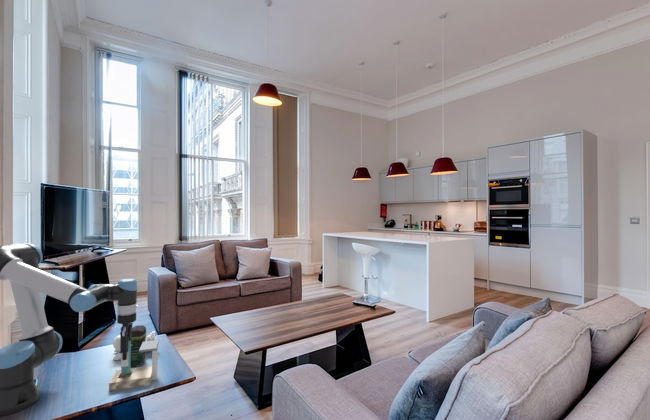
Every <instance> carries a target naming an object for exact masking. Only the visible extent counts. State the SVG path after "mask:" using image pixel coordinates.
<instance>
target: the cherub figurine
mask: <svg viewBox="0 0 650 420" xmlns="http://www.w3.org/2000/svg"><path fill="white" fill-rule="evenodd" d="M155 334H156V330H152V331H151V332H150V333H149V334H148V335H146V341H155ZM120 339H121V337H120V334H117V335H116V336H115V337H114V338H113V339H112V345H113V348H114V350H113V351H114V353H117V354H115V355H114V356H113V357H112V360H113V361H119V360H121V353H119V352H120Z"/></svg>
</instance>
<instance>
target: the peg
mask: <svg viewBox="0 0 650 420" xmlns="http://www.w3.org/2000/svg"><path fill="white" fill-rule="evenodd" d="M128 351H129V359H128V366H125V367H121V366H120V370H121V374H122V375H125V374H128V373H130V368H131V341H129V342H128Z"/></svg>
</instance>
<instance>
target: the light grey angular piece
mask: <svg viewBox="0 0 650 420" xmlns="http://www.w3.org/2000/svg"><path fill="white" fill-rule="evenodd" d="M159 343H160V339H157V340H155V339H154V341H146V342H143V343H142V345H141V347H140V349H139V352H145V353H146V352H151V354H152V355H151V366H152V381H154V380H157V379H158V362H159V357H158V356H159Z"/></svg>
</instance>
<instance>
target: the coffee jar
mask: <svg viewBox="0 0 650 420" xmlns="http://www.w3.org/2000/svg"><path fill="white" fill-rule="evenodd" d="M146 336H147V327H146V326H145V325H143V324H142V325H134V326H132V344H131V345H133V346H132V347H131V366H130V368H136V367H139V366H141V365H143V363H144V362H145V361H146V352H139V349H140V347H141V345H142V343H143V342H146Z"/></svg>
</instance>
